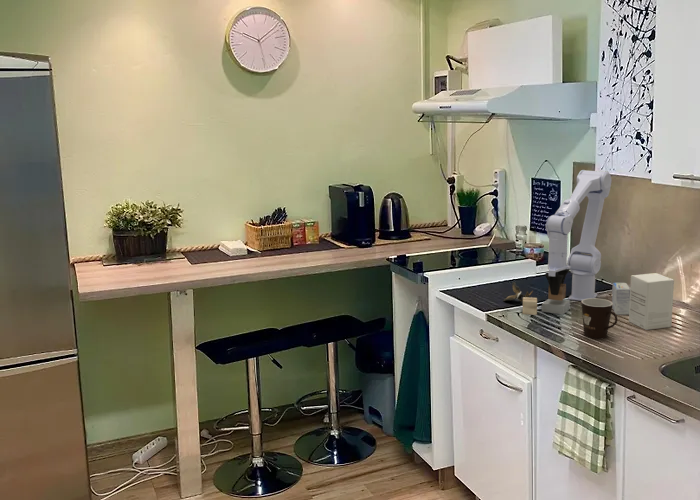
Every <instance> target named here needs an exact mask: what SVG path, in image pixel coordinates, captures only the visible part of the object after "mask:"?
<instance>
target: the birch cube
mask: <svg viewBox="0 0 700 500" xmlns="http://www.w3.org/2000/svg"><path fill="white" fill-rule="evenodd" d="M522 299H523V301H522V315H534V316H537V315H538V297H530V296H529V297H522Z"/></svg>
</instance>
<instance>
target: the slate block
mask: <svg viewBox="0 0 700 500" xmlns="http://www.w3.org/2000/svg"><path fill="white" fill-rule="evenodd" d="M570 309H571V300H566V299H563V301H560V300H550V299H546V300H545V301H544V302H542V304H541V312H544V313H551V314H557V315H564V314H565V313H567V312H568V311H569V310H570Z"/></svg>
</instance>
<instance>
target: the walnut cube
mask: <svg viewBox="0 0 700 500" xmlns="http://www.w3.org/2000/svg"><path fill="white" fill-rule="evenodd" d="M547 293H548V296H547V298H548V299H550V300H560V301H563V300H565V299H566V295H567V294H566V293H567V283H564V284H560V289H559V293H558V295H551V292H550V287H549V286H548V292H547Z"/></svg>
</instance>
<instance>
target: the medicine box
mask: <svg viewBox="0 0 700 500" xmlns="http://www.w3.org/2000/svg"><path fill="white" fill-rule="evenodd" d="M611 290H612V291H611V292H612V293H611V302H612V303H613V305H612V310H613V312H614V313H615V314H616V315H619V316H622V315H623V316H625V315H626V316H629V305H630V286H629V285H628V283H626V282H613V283H612V289H611Z"/></svg>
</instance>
